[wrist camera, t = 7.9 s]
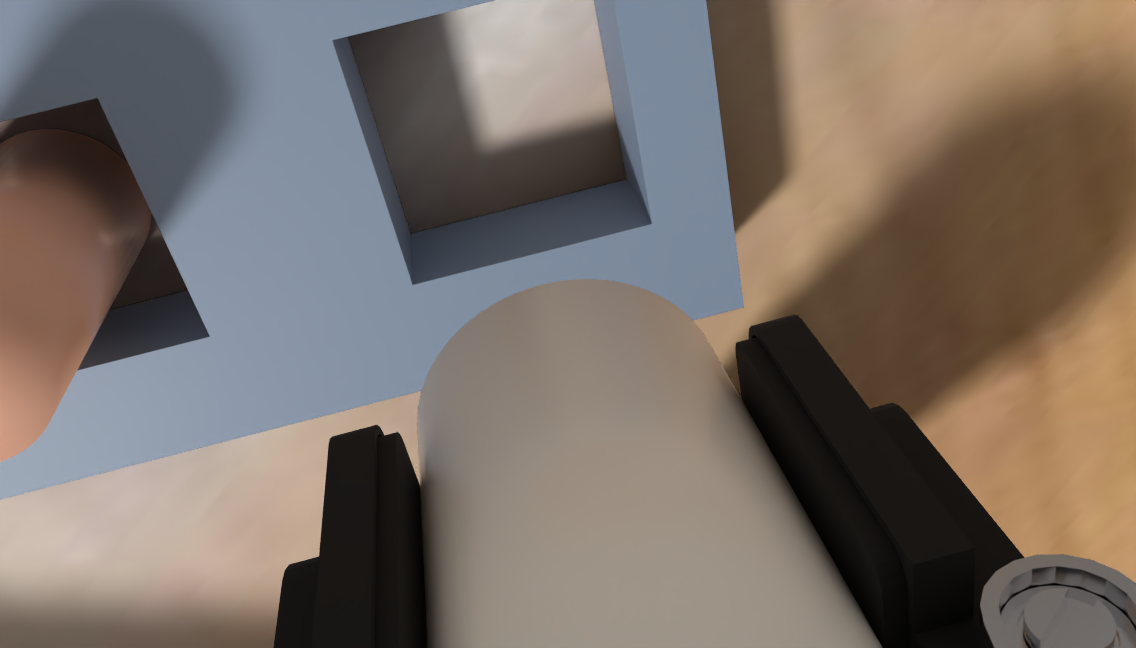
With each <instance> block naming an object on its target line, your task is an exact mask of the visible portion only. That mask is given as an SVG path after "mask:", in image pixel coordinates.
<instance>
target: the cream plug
mask: <svg viewBox="0 0 1136 648" xmlns="http://www.w3.org/2000/svg"><path fill="white" fill-rule="evenodd" d="M417 434H418V455H419V477H420V498H421V519H422V541H423V563H424V584H425V606H426V627H427V648H883V647H882V645H881V644H880V642H879V640H878V638H877V637H876V635H875V633H874V631H873V630H872V628H871V626H870V624H869V622H868V621H867V619H866V617H865V615H864V614H863V612H862V610H861V608H860V607H859V605H858V603H857V601H856V600H855V598H854V596H853V594H852V593H851V591H850V589H849V587H848V586H847V584H846V582H845V580H844V579H843V577H842V575H841V573H840V572H839V570H838V568H837V566H836V564H835V563H834V561H833V559H832V557H831V556H830V554H829V552H828V550H827V549H826V547H825V545H824V543H823V542H822V540H821V538H820V536H819V535H818V533H817V531H816V529H815V528H814V526H813V524H812V522H811V521H810V519H809V517H808V515H807V514H806V512H805V510H804V508H803V506H802V505H801V503H800V501H799V499H798V498H797V496H796V494H795V492H794V491H793V489H792V487H791V485H790V484H789V482H788V480H787V478H786V477H785V475H784V473H783V471H782V470H781V468H780V466H779V464H778V463H777V461H776V459H775V457H774V456H773V454H772V452H771V450H770V448H769V447H768V445H767V443H766V441H765V440H764V438H763V436H762V434H761V433H760V431H759V429H758V427H757V426H756V424H755V422H754V420H753V419H752V417H751V415H750V413H749V412H748V410H747V408H746V406H745V405H744V403H743V401H742V399H741V398H740V396H739V394H738V392H737V391H736V389H735V387H734V385H733V383H732V382H731V380H730V378H729V376H728V375H727V373H726V371H725V369H724V368H723V366H722V364H721V362H720V361H719V359H718V357H717V355H716V354H715V352H714V350H713V348H712V347H711V345H710V343H709V342H708V340H707V338H706V337H705V335H704V333H703V332H702V331H701V329H700V328H699V327H698V326H697V325H696V324H695V322H694V321H693V320H692V319H691V318H690V317H689V316H688V315H687V314H685V313H684V312H683V311H682V310H681V309H680V308H678V307H677V306H676V305H674V304H672V303H671V302H669V301H668V300H666V299H664V298H663V297H661V296H659V295H657V294H654V293H652V292H650V291H648V290H646V289H643V288H640V287H636V286H633V285H630V284H626V283H621V282H615V281H609V280H597V279H576V280H564V281H558V282H553V283H548V284H543V285H538V286H535V287H532V288H529V289H526V290H523V291H520V292H517V293H515V294H513V295H511V296H509V297H507V298H504V299H502V300H500V301H498V302H496V303H495V304H493V305H492V306H490V307H488V308H487V309H485V310H483V311H482V312H480V313H479V314H478V315H476V316H475V317H474V318H473V319H471V320H470V321H469V322H468V323H466V324H465V325H464V326H463V327H462V328H461V329H460V330H459V331H458V332H457V333H456V334H455V335H454V336H453V337H452V338H451V339H450V340H449V341H448V343H447V344H446V345H445V347H444V348H443V349H442V351H441V352H440V353H439V355H438V356H437V358H436V360H435V361H434V363H433V365H432V367H431V369H430V370H429V372H428V375H427V377H426V380H425V383H424V385H423V388H422V391H421V396H420V400H419V405H418V417H417Z"/></svg>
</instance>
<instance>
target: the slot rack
mask: <svg viewBox="0 0 1136 648" xmlns="http://www.w3.org/2000/svg"><path fill="white" fill-rule="evenodd" d="M490 1H494V0H0V122H2V121H6V120H10V119H14V118H18V117H22V116H27V115H31V114H35V113H39V112H43V111H47V110H51V109H55V108H59V107H63V106H67V105H71V104H75V103H79V102H83V101H88V100H92V99H96V98H98V100H99V102H100V104H101V106H102V108H103V111H104V113H105V115H106V117H107V119H108V121H109V123H110V125H111V128H112V130H113V132H114V134H115V136H116V138H117V140H118V142H119V145H120V147H121V149H122V151H123V153H124V155H125V157H126V159H127V162H128V164H129V166H130V168H131V170H132V172H133V174H134V176H135V178H136V181H137V183H138V185H139V187H140V189H141V191H142V193H143V195H144V198H145V200H146V202H147V204H148V206H149V208H150V210H151V212H152V215H153V217H154V219H155V221H156V223H157V225H158V227H159V229H160V232H161V234H162V236H163V238H164V240H165V242H166V244H167V246H168V249H169V251H170V253H171V255H172V257H173V259H174V261H175V263H176V266H177V268H178V270H179V272H180V274H181V276H182V278H183V280H184V282H185V285H186V287H187V289H188V291H184V292H180V293H176V294H172V295H168V296H164V297H160V298H156V299H152V300H148V301H144V302H140V303H136V304H132V305H128V306H124V307H120V308H117V309H113V310H109V311H108V313H107V315H106V317H105V319H104V321H103V323H102V324H101V326H100V328H99V330H98V332H97V334H96V336H95V338H94V339H93V341H92V343H91V345H90V347H89V349H88V351H87V353H86V355H85V356H84V358H83V360H82V362H81V364H80V366H79V368H78V370H77V371H76V373H75V375H74V377H73V379H72V381H71V383H70V385H69V387H68V388H67V390H66V392H65V394H64V396H63V398H62V400H61V402H60V403H59V405H58V407H57V409H56V411H55V413H54V415H53V417H52V419H51V420H50V422H49V424H48V426H47V427H46V429H45V431H44V432H43V433H42V434H41V435H40V437H39V438H38V439H37V440H36V441H35V442H34V443H33V444H31V445H30V446H29V447H28V448H27V449H25V450H23V451H22V452H20V453H19V454H17V455H15V456H13V457H11V458H9V459H6V460H4V461H1V462H0V500H1V499H5V498H9V497H12V496H16V495H20V494H24V493H28V492H32V491H36V490H39V489H43V488H47V487H51V486H55V485H59V484H63V483H67V482H70V481H74V480H78V479H82V478H86V477H90V476H94V475H97V474H101V473H105V472H109V471H113V470H117V469H121V468H125V467H128V466H132V465H136V464H140V463H144V462H148V461H152V460H155V459H159V458H163V457H167V456H171V455H175V454H179V453H183V452H186V451H190V450H194V449H198V448H202V447H206V446H210V445H213V444H217V443H221V442H225V441H229V440H233V439H237V438H241V437H244V436H248V435H252V434H256V433H260V432H264V431H268V430H272V429H275V428H279V427H283V426H287V425H291V424H295V423H299V422H302V421H306V420H310V419H314V418H318V417H322V416H326V415H330V414H333V413H337V412H341V411H345V410H349V409H353V408H357V407H360V406H364V405H368V404H372V403H376V402H380V401H384V400H388V399H391V398H395V397H399V396H403V395H407V394H411V393H415V392H418V391H422V388H423V385H424V383H425V380H426V377H427V375H428V372H429V370H430V369H431V367H432V365H433V363H434V361H435V360H436V358H437V356H438V355H439V353H440V352H441V351H442V349H443V348H444V347H445V345H446V344H447V343H448V341H449V340H450V339H451V338H452V337H453V336H454V335H455V334H456V333H457V332H458V331H459V330H460V329H461V328H462V327H463V326H464V325H465V324H466V323H468V322H469V321H470V320H471V319H473V318H474V317H475V316H476V315H478V314H479V313H480V312H482V311H483V310H485V309H487V308H488V307H490V306H492V305H493V304H495V303H496V302H498V301H500V300H502V299H504V298H507V297H509V296H511V295H513V294H515V293H517V292H520V291H523V290H526V289H529V288H532V287H535V286H538V285H543V284H548V283H553V282H558V281H564V280H576V279H597V280H609V281H615V282H621V283H626V284H630V285H633V286H636V287H640V288H643V289H646V290H648V291H650V292H652V293H654V294H657V295H659V296H661V297H663V298H664V299H666V300H668V301H669V302H671V303H672V304H674V305H676V306H677V307H678V308H680V309H681V310H682V311H683V312H684V313H685V314H687V315H688V316H689V317H690V318H691V319H692V320H697V319H701V318H705V317H708V316H712V315H716V314H720V313H724V312H728V311H732V310H736V309H739V308H743V307H744V305H743V296H742V288H741V280H740V272H739V264H738V256H737V248H736V240H735V231H734V223H733V215H732V207H731V199H730V191H729V183H728V175H727V166H726V158H725V150H724V142H723V134H722V126H721V118H720V110H719V101H718V93H717V85H716V77H715V69H714V61H713V53H712V44H711V36H710V28H709V20H708V12H707V4H706V0H594V3H595V9H596V14H597V20H598V25H599V31H600V36H601V42H602V47H603V53H604V58H605V64H606V69H607V75H608V80H609V85H610V91H611V96H612V102H613V107H614V113H615V118H616V124H617V129H618V135H619V140H620V146H621V151H622V157H623V162H624V168H625V173H626V180H622V181H618V182H614V183H610V184H606V185H602V186H598V187H594V188H591V189H587V190H583V191H579V192H575V193H571V194H567V195H563V196H559V197H555V198H551V199H547V200H543V201H539V202H535V203H531V204H527V205H523V206H519V207H515V208H512V209H508V210H504V211H500V212H496V213H492V214H488V215H484V216H480V217H476V218H472V219H468V220H464V221H460V222H456V223H452V224H448V225H444V226H440V227H436V228H433V229H429V230H425V231H421V232H417V233H413V234H411V233H410V230H409V227H408V224H407V220H406V217H405V214H404V211H403V208H402V205H401V202H400V199H399V195H398V192H397V189H396V186H395V183H394V180H393V177H392V174H391V170H390V167H389V164H388V161H387V158H386V155H385V152H384V149H383V145H382V142H381V139H380V136H379V133H378V130H377V127H376V124H375V120H374V117H373V114H372V111H371V108H370V105H369V102H368V98H367V95H366V92H365V89H364V86H363V83H362V80H361V77H360V73H359V70H358V67H357V64H356V61H355V58H354V55H353V52H352V48H351V45H350V42H349V39H348V36H352V35H356V34H360V33H364V32H368V31H372V30H376V29H380V28H384V27H388V26H393V25H397V24H401V23H405V22H409V21H413V20H417V19H421V18H425V17H429V16H433V15H437V14H441V13H445V12H449V11H454V10H458V9H462V8H466V7H470V6H474V5H478V4H482V3H486V2H490Z"/></svg>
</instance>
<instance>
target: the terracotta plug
mask: <svg viewBox="0 0 1136 648" xmlns="http://www.w3.org/2000/svg"><path fill="white" fill-rule="evenodd" d="M150 225H151V210H150V208H149V206H148V204H147V202H146V200H145V198H144V195H143V193H142V191H141V189H140V187H139V185H138V183H137V181H136V178H135V176H134V174H133V172H132V170H131V168H130V166H129V164H128V163H127V162H126V161H125V160H124V159H123V158H122V157H121V156H119V155H118V154H117V153H116V152H115V151H113V150H112V149H110V148H109V147H107V146H106V145H104V144H102V143H100V142H99V141H97V140H95V139H92V138H90V137H87V136H85V135H82V134H78V133H75V132H71V131H65V130H58V129H39V130H32V131H27V132H24V133H20V134H17V135H15V136H13V137H11V138H9V139H7V140H5V141H4V142H2V143H1V144H0V462H1V461H4V460H6V459H9V458H11V457H13V456H15V455H17V454H19V453H20V452H22V451H23V450H25V449H27V448H28V447H29V446H30V445H31V444H33V443H34V442H35V441H36V440H37V439H38V438H39V437H40V435H41V434H42V433H43V432H44V431H45V429H46V427H47V426H48V424H49V422H50V420H51V419H52V417H53V415H54V413H55V411H56V409H57V407H58V405H59V403H60V402H61V400H62V398H63V396H64V394H65V392H66V390H67V388H68V387H69V385H70V383H71V381H72V379H73V377H74V375H75V373H76V371H77V370H78V368H79V366H80V364H81V362H82V360H83V358H84V356H85V355H86V353H87V351H88V349H89V347H90V345H91V343H92V341H93V339H94V338H95V336H96V334H97V332H98V330H99V328H100V326H101V324H102V323H103V321H104V319H105V317H106V315H107V313H108V311H109V309H110V307H111V306H112V304H113V302H114V300H115V298H116V296H117V294H118V292H119V291H120V289H121V287H122V285H123V283H124V281H125V279H126V277H127V275H128V274H129V272H130V270H131V268H132V266H133V264H134V262H135V260H136V259H137V257H138V255H139V253H140V251H141V249H142V247H143V245H144V243H145V241H146V239H147V236H148V234H149V229H150Z"/></svg>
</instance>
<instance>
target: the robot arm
mask: <svg viewBox="0 0 1136 648" xmlns="http://www.w3.org/2000/svg"><path fill="white" fill-rule="evenodd" d="M736 358H737V366H738V373H739V381H740V389H741V396H742V401H743V403H744V405H745V406H746V408H747V410H748V412H749V413H750V415H751V417H752V419H753V420H754V422H755V424H756V426H757V427H758V429H759V431H760V433H761V434H762V436H763V438H764V440H765V441H766V443H767V445H768V447H769V448H770V450H771V452H772V454H773V456H774V457H775V459H776V461H777V463H778V464H779V466H780V468H781V470H782V471H783V473H784V475H785V477H786V478H787V480H788V482H789V484H790V485H791V487H792V489H793V491H794V492H795V494H796V496H797V498H798V499H799V501H800V503H801V505H802V506H803V508H804V510H805V512H806V514H807V515H808V517H809V519H810V521H811V522H812V524H813V526H814V528H815V529H816V531H817V533H818V535H819V536H820V538H821V540H822V542H823V543H824V545H825V547H826V549H827V550H828V552H829V554H830V556H831V557H832V559H833V561H834V563H835V564H836V566H837V568H838V570H839V572H840V573H841V575H842V577H843V579H844V580H845V582H846V584H847V586H848V587H849V589H850V591H851V593H852V594H853V596H854V598H855V600H856V601H857V603H858V605H859V607H860V608H861V610H862V612H863V614H864V615H865V617H866V619H867V621H868V622H869V624H870V626H871V628H872V630H873V631H874V633H875V635H876V637H877V638H878V640H879V642H880V644H881V645H882V647H883V648H1136V583H1135V582H1133V581H1132V580H1130V579H1129V578H1128V577H1126V576H1125V575H1123V574H1122V573H1120V572H1119V571H1117V570H1115V569H1112V568H1110V567H1107V566H1105V565H1103V564H1100V563H1098V562H1095V561H1093V560H1090V559H1084V558H1079V557H1074V556H1069V555H1064V554H1057V555H1034V556H1030V557H1026V558H1024V557H1023V555H1022V554H1021V553H1020V552H1019V550H1018V549H1017V548H1016V547H1015V546H1014V544H1013V543H1012V542H1011V541H1010V539H1009V538H1008V537H1007V536H1006V534H1005V533H1004V532H1003V531H1002V530H1001V528H1000V527H999V526H998V525H997V523H996V522H995V521H994V520H993V518H992V517H991V516H990V515H989V514H988V512H987V511H986V510H985V509H984V507H983V506H982V505H981V504H980V503H979V501H978V500H977V499H976V498H975V496H974V495H973V494H972V493H971V491H970V490H969V489H968V488H967V487H966V485H965V484H964V483H963V482H962V480H961V479H960V478H959V477H958V475H957V474H956V473H955V472H954V471H953V469H952V468H951V467H950V466H949V464H948V463H947V462H946V461H945V459H944V458H943V457H942V456H941V455H940V453H939V452H938V451H937V450H936V448H935V447H934V446H933V445H932V444H931V442H930V441H929V440H928V439H927V437H926V436H925V435H924V434H923V432H922V431H921V430H920V429H919V428H918V426H917V425H916V424H915V423H914V421H913V420H912V419H911V418H910V416H909V415H908V414H907V413H906V412H905V411H904V410H903V409H902V408H901V407H900V406H899V405H896V404H894V403H890V404H886V405H882V406H878V407H875V408H871V409H869V407H868V406H867V405H866V403H865V402H864V401H863V400H862V398H861V397H860V396H859V394H858V393H857V392H856V390H855V389H854V388H853V386H852V385H851V384H850V382H849V381H848V380H847V378H846V377H845V376H844V375H843V373H842V372H841V371H840V369H839V368H838V367H837V365H836V364H835V363H834V361H833V360H832V359H831V357H830V356H829V355H828V353H827V352H826V351H825V350H824V348H823V347H822V346H821V344H820V343H819V342H818V340H817V339H816V338H815V336H814V335H813V334H812V332H811V331H810V330H809V328H808V327H807V326H806V325H805V323H804V322H803V321H802V319H801V318H800V317H799V316H798V315H792V316H788V317H784V318H780V319H776V320H773V321H769V322H765V323H761V324H757V325H754V326H751V327H750V329H749V339H748V340H744V341H741V342H737V343H736ZM274 648H427V627H426V606H425V584H424V563H423V541H422V519H421V498H420V485H419V482H418V480H417V477H416V474H415V471H414V469H413V466H412V463H411V461H410V458H409V455H408V453H407V450H406V447H405V444H404V442H403V439H402V437H401V435H400V434H399V433H398V432H396V433H393V434H389V435H385V436H384V434H383V432H382V430H381V428H380V427H379V426H378V425H374V426H371V427H367V428H363V429H359V430H355V431H352V432H348V433H344V434H340V435H337V436H333V437H331V438H330V441H329V448H328V460H327V472H326V483H325V495H324V507H323V518H322V530H321V542H320V553H319V557H316V558H312V559H308V560H305V561H301V562H297V563H294V564H290V565H289V566H288V567H287V568H286V570H285V572H284V576H283V580H282V587H281V595H280V603H279V610H278V618H277V626H276V634H275V641H274Z"/></svg>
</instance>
